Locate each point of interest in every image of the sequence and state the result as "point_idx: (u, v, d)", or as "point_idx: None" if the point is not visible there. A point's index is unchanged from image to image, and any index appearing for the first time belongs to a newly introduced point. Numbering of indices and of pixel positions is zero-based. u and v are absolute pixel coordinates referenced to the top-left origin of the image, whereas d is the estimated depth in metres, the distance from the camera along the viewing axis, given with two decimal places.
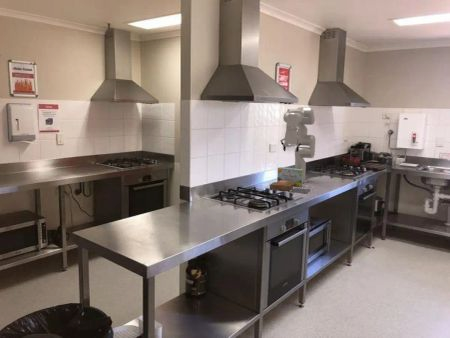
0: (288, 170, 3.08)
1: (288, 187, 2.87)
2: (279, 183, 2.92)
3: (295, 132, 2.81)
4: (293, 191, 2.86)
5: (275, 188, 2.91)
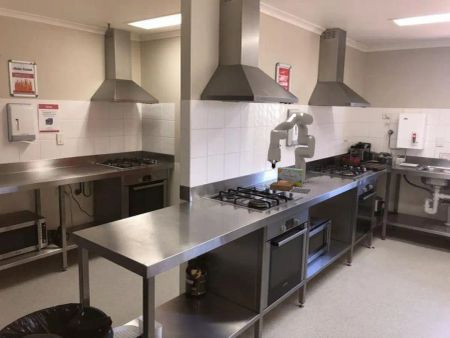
0: (288, 170, 3.08)
1: (288, 187, 2.87)
2: (279, 183, 2.92)
3: (277, 149, 2.91)
4: (293, 191, 2.86)
5: (275, 188, 2.91)
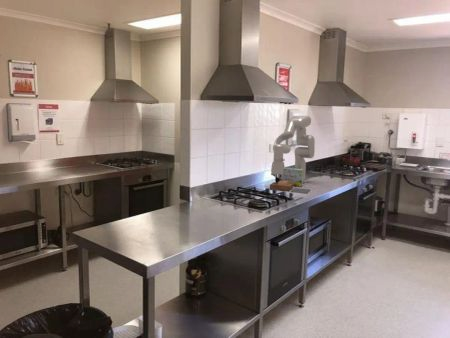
0: (288, 170, 3.08)
1: (288, 187, 2.87)
2: (279, 183, 2.92)
3: (281, 163, 2.92)
4: (293, 191, 2.86)
5: (275, 188, 2.91)
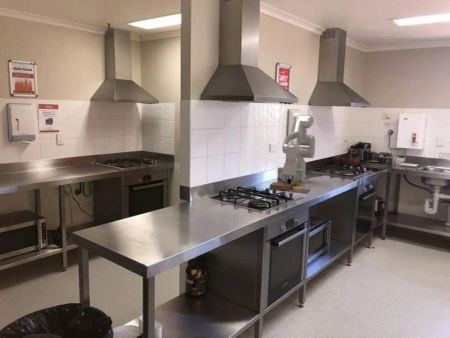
0: None
1: (288, 187, 2.87)
2: (299, 189, 2.87)
3: (293, 164, 2.88)
4: (293, 191, 2.86)
5: (275, 188, 2.91)
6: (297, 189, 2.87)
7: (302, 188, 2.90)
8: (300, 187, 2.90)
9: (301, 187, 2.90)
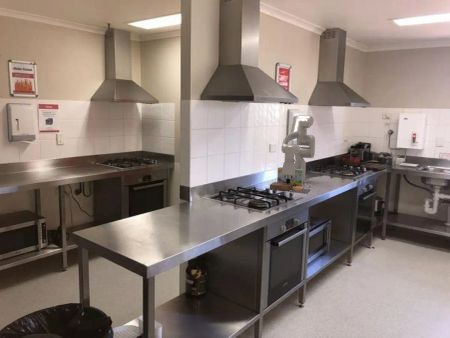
0: None
1: (288, 187, 2.87)
2: (299, 189, 2.87)
3: (292, 164, 2.89)
4: (293, 191, 2.86)
5: (275, 188, 2.91)
6: (297, 189, 2.87)
7: (302, 188, 2.90)
8: (300, 187, 2.90)
9: (301, 187, 2.90)
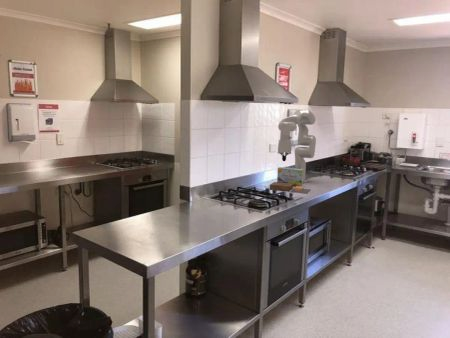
0: (288, 170, 3.08)
1: (288, 187, 2.87)
2: (299, 189, 2.87)
3: (288, 141, 2.88)
4: (293, 191, 2.86)
5: (275, 188, 2.91)
6: (297, 189, 2.87)
7: (302, 188, 2.90)
8: (300, 187, 2.90)
9: (301, 187, 2.90)
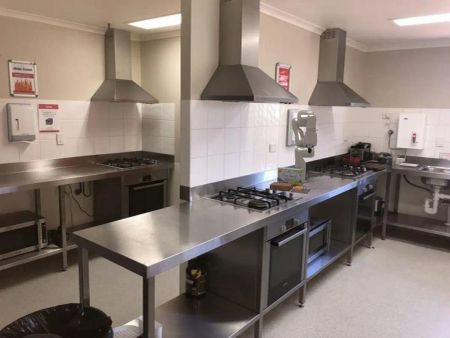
0: (288, 170, 3.08)
1: (288, 187, 2.87)
2: (299, 189, 2.87)
3: (314, 133, 2.92)
4: (293, 191, 2.86)
5: (275, 188, 2.91)
6: (297, 189, 2.87)
7: (302, 188, 2.90)
8: (300, 187, 2.90)
9: (301, 187, 2.90)
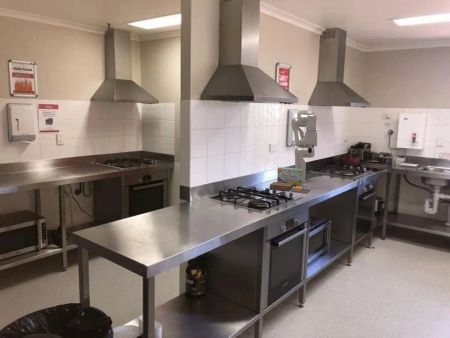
0: (288, 170, 3.08)
1: (288, 187, 2.87)
2: (299, 189, 2.87)
3: (314, 133, 2.92)
4: (293, 191, 2.86)
5: (275, 188, 2.91)
6: (297, 189, 2.87)
7: (302, 188, 2.90)
8: (300, 187, 2.90)
9: (301, 187, 2.90)
